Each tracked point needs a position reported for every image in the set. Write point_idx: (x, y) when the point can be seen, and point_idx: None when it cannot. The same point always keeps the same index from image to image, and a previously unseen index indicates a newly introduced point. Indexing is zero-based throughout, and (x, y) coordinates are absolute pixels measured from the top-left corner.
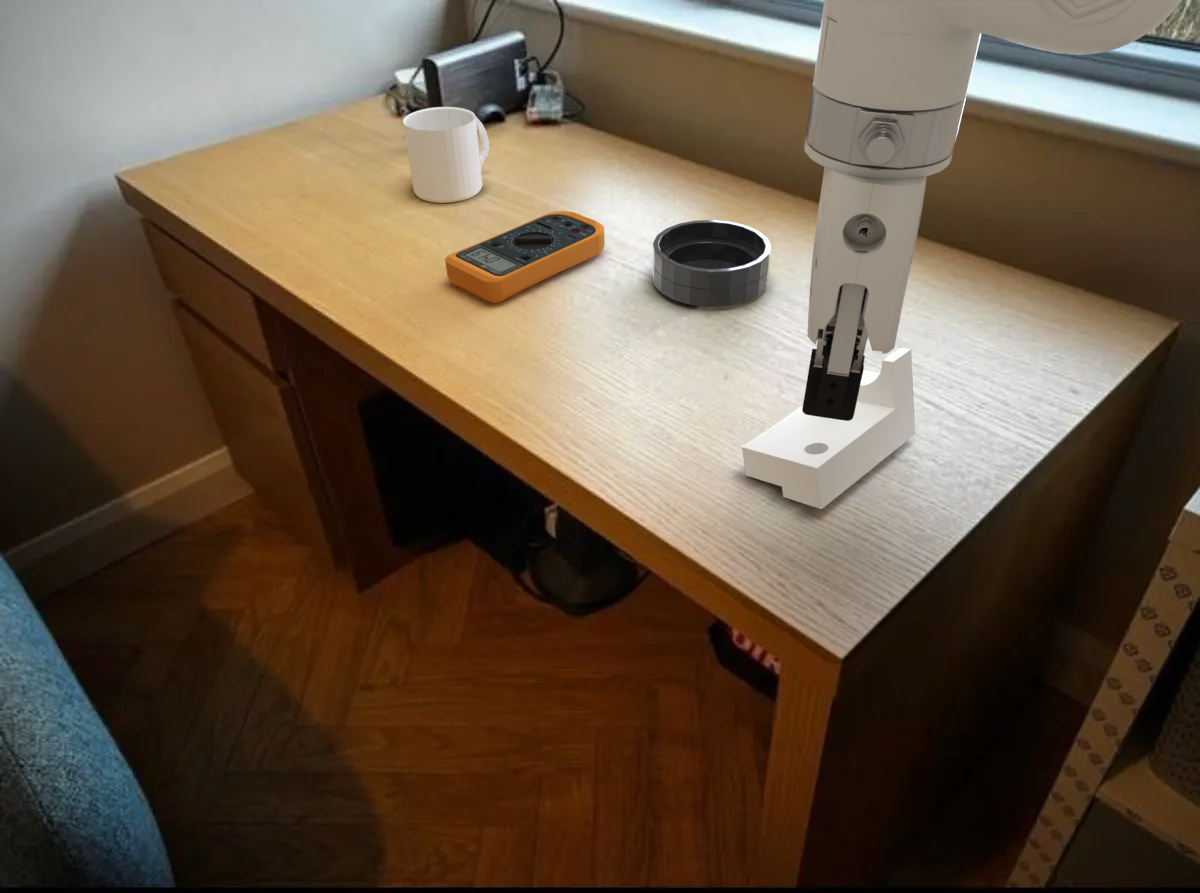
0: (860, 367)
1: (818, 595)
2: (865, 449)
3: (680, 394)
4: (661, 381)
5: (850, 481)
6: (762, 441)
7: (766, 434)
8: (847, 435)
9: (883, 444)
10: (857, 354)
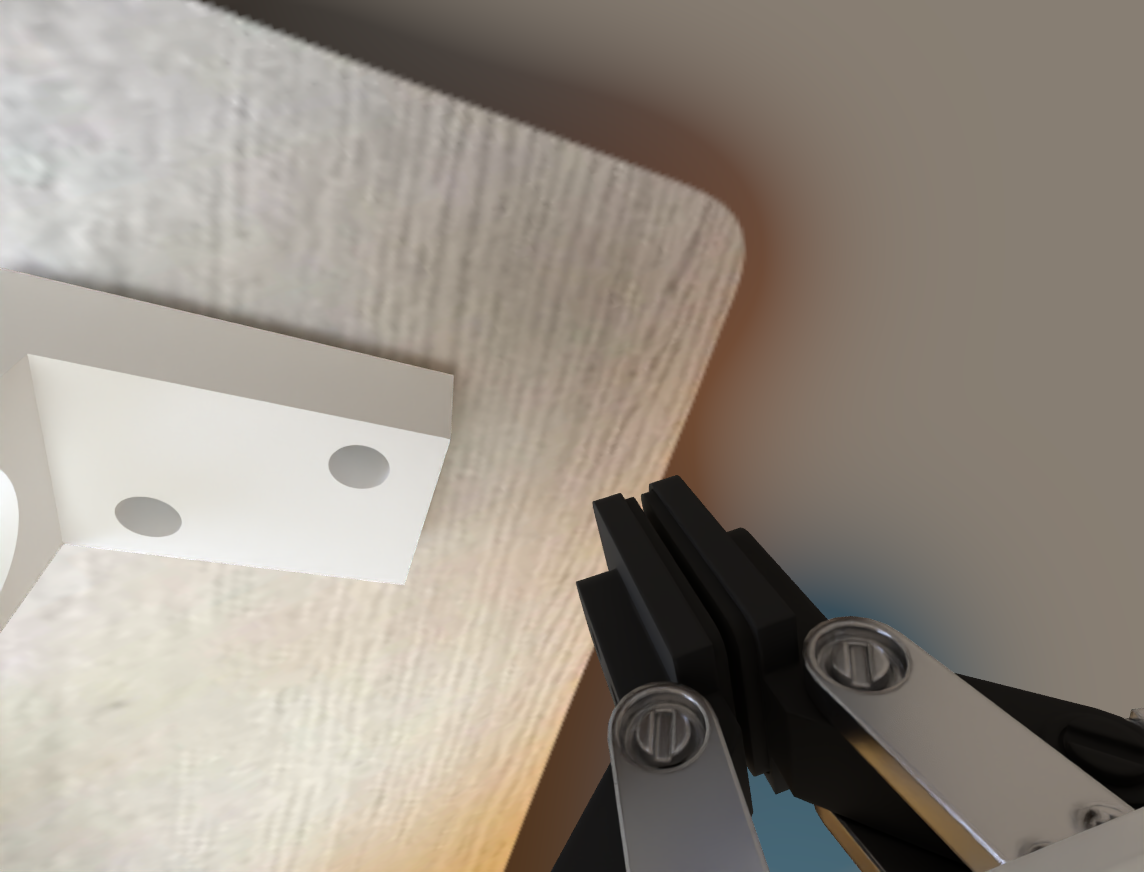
0: (913, 646)
1: (653, 295)
2: (244, 364)
3: (245, 731)
4: (230, 773)
5: (336, 353)
6: (366, 563)
7: (332, 567)
8: (262, 425)
9: (157, 329)
10: (1068, 744)
